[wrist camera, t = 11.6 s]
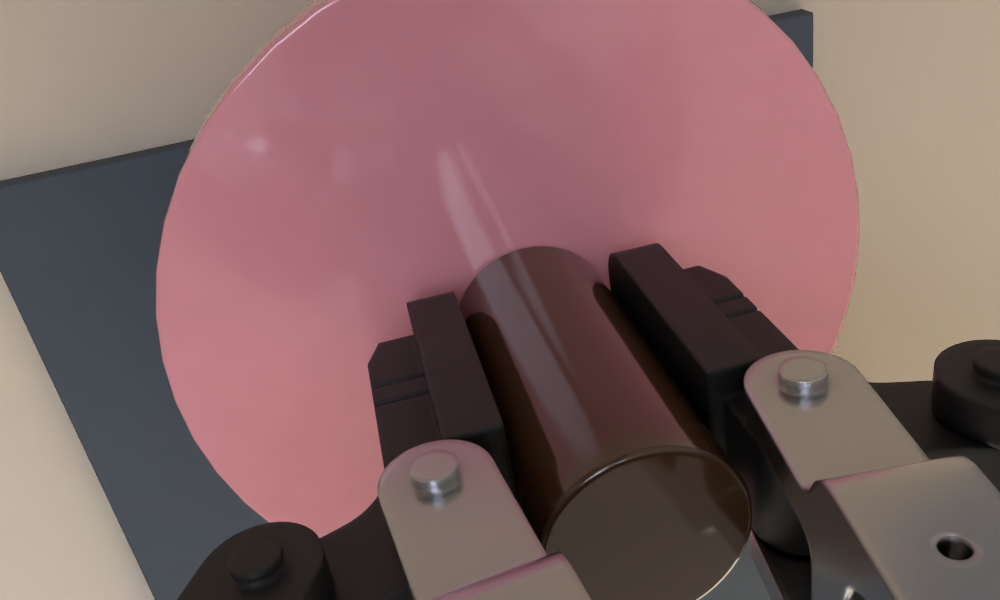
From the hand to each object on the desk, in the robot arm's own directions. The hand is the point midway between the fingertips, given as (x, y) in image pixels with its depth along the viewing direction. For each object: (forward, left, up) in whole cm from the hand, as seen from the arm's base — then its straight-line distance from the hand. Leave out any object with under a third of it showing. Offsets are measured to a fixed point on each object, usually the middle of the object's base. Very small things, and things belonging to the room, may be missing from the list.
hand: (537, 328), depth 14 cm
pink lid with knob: (0, 0, -1) cm, 1 cm away
